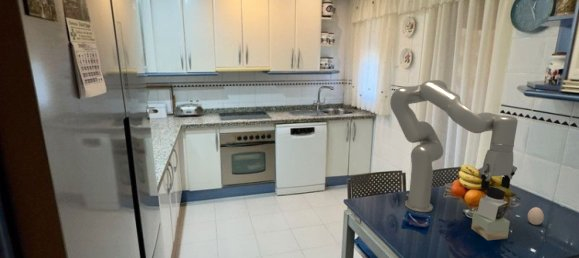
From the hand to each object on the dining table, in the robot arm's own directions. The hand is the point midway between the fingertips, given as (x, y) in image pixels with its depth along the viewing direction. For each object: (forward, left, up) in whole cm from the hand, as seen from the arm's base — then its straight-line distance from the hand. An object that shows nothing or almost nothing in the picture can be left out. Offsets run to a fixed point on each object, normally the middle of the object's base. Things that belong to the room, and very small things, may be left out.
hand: (494, 188), depth 125 cm
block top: (0, 0, -16) cm, 16 cm away
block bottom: (0, 0, -20) cm, 20 cm away
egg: (-2, +26, -20) cm, 33 cm away
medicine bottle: (0, 0, -12) cm, 12 cm away
